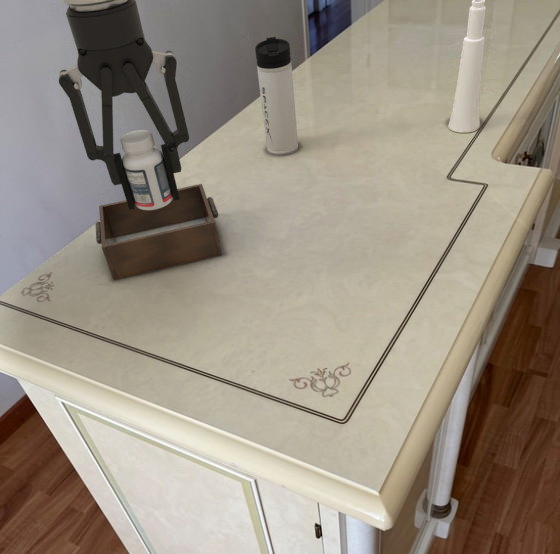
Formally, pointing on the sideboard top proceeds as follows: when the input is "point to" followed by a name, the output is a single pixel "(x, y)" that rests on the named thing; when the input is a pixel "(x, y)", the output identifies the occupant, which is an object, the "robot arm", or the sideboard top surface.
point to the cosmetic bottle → (470, 74)
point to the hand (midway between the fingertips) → (153, 199)
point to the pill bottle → (145, 170)
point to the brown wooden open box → (158, 234)
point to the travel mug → (277, 96)
